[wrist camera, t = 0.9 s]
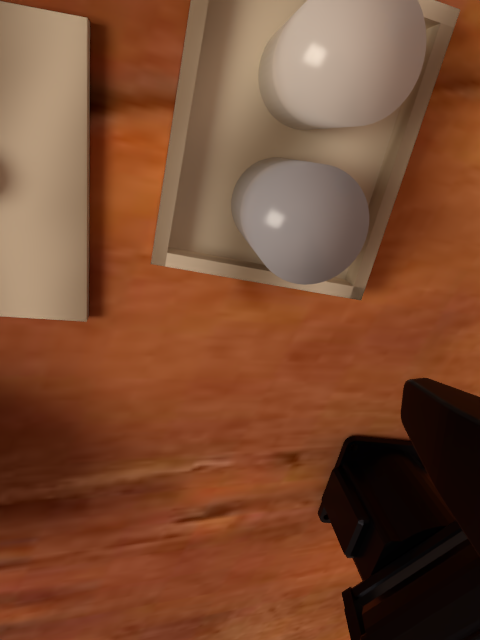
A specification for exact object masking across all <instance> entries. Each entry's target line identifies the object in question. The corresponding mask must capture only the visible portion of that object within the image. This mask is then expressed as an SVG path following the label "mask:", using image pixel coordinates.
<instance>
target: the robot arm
mask: <svg viewBox="0 0 480 640" xmlns="http://www.w3.org/2000/svg"><path fill="white" fill-rule="evenodd" d="M401 420H402V423H403V426H404V428H405V430H406V432H407V434H408V436H409V438H410V440H411V442H410V441H399V440H389V439H378V438H367V437H357V436H351V437H349V438H347V439H346V440H345V442H344V444H343V446H342V449H341V452H340V454H339V457H338V460H337V462H336V465H335V468H334V469H333V470H332V472H331V475H330V478H329V481H328V483H327V486H326V489H325V491H324V494H323V497H322V503H321V505H320V508H319V511H318V515H319V518H320V520H321V521H322V522H324V523H331V524H332V526H333V529H334V531H335V534H336V536H337V538H338V541H339V543H340V545H341V548H342V550H343V552H344V554H345V555H346V557H347V558H353V560H354V562H355V565H356V567H357V569H358V572H359V574H360V576H361V578H362V582H360V583H359V584H357V585H356V586H354V587H353V588H351V587H349V588H348V589H346V590H345V591H343V592H342V597H343V601H344V606H345V615H346V620H347V624H348V629H349V633H350V638H351V640H480V397H478V396H475V395H473V394H470V393H467V392H464V391H462V390H459V389H456V388H453V387H451V386H448V385H445V384H442V383H439V382H437V381H434V380H431V379H428V378H417V379H410V380H408V381H406V382H405V384H404V388H403V397H402V406H401ZM353 444H355V445H354V446H351V445H353Z"/></svg>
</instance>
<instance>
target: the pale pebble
mask: <svg viewBox="0 0 480 640" xmlns="http://www.w3.org/2000/svg"><path fill="white" fill-rule="evenodd" d="M425 52H426V26H425V20H424V16H423V12H422V9H421V6H420V4H419V2H418V0H307V1H306V2H305V3H304V4H303V5H302V6H301V7H300V8H299V9H298V10H297V11H296V12H295V13H294V14H293V15H292V16H291V17H290V18H289V19H288V20H287V21H286V22H285V23H284V24H283V25H282V26H281V27H280V28H279V29H278V30H277V31H276V32H275V34H274V35H273V36H272V37H271V38H270V40H269V41H268V43H267V45H266V47H265V48H264V51H263V53H262V56H261V60H260V64H259V72H258V81H259V89H260V93H261V96H262V99H263V101H264V104H265V106H266V107H267V109H268V111H269V112H270V113H271V114H272V116H273V117H274V118H275V119H276V120H278V121H279V122H280V123H282V124H283V125H285V126H287V127H290V128H293V129H297V130H313V129H328V128H342V127H356V126H365V125H369V124H373V123H375V122H377V121H380V120H382V119H384V118H385V117H387V116H389V115H390V114H391V113H392V112H394V111H395V110H396V109H397V108H398V107H399V106H400V105H401V104H402V103H403V102H404V101H405V100H406V98H407V97H408V96H409V94H410V93H411V91H412V90H413V88H414V86H415V84H416V82H417V80H418V78H419V75H420V72H421V70H422V66H423V62H424V58H425Z"/></svg>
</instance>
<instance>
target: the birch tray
mask: <svg viewBox="0 0 480 640" xmlns="http://www.w3.org/2000/svg"><path fill="white" fill-rule="evenodd" d="M306 1H307V0H191V3H190V10H189V16H188V23H187V30H186V36H185V43H184V49H183V56H182V63H181V69H180V76H179V82H178V89H177V95H176V102H175V109H174V115H173V122H172V128H171V135H170V142H169V148H168V155H167V161H166V168H165V174H164V181H163V188H162V194H161V201H160V207H159V214H158V221H157V227H156V234H155V240H154V247H153V253H152V260H151V264H155V265H160V266H166V267H172V268H178V269H183V270H189V271H195V272H201V273H207V274H212V275H218V276H224V277H230V278H235V279H241V280H247V281H253V282H259V283H264V284H270V285H276V286H282V287H287V288H293V289H299V290H305V291H310V292H316V293H322V294H328V295H334V296H339V297H345V298H351V299H357V300H361V299H362V296H363V293H364V290H365V287H366V284H367V281H368V279H369V276H370V273H371V270H372V267H373V264H374V261H375V258H376V255H377V252H378V249H379V246H380V243H381V240H382V238H383V235H384V232H385V229H386V226H387V223H388V220H389V217H390V214H391V211H392V208H393V205H394V202H395V199H396V197H397V194H398V191H399V188H400V185H401V182H402V179H403V176H404V173H405V170H406V167H407V164H408V161H409V158H410V156H411V153H412V150H413V147H414V144H415V141H416V138H417V135H418V132H419V129H420V126H421V123H422V120H423V117H424V115H425V112H426V109H427V106H428V103H429V100H430V97H431V94H432V91H433V88H434V85H435V82H436V79H437V76H438V74H439V71H440V68H441V65H442V62H443V59H444V56H445V53H446V50H447V47H448V44H449V41H450V38H451V35H452V33H453V30H454V27H455V24H456V21H457V18H458V15H459V12H460V9H457V8H454V7H452V6H449V5H446V4H443V3H441V2H438V1H435V0H418V2H419V4H420V6H421V9H422V12H423V16H424V20H425V26H426V52H425V58H424V62H423V66H422V70H421V72H420V75H419V78H418V80H417V82H416V84H415V86H414V88H413V90H412V91H411V93H410V94H409V96H408V97H407V98H406V100H405V101H404V102H403V103H402V104H401V105H400V106H399V107H398V108H397V109H396V110H395V111H394V112H392V113H391V114H390V115H389V116H387V117H385V118H384V119H382V120H380V121H377V122H375V123H373V124H369V125H365V126H356V127H342V128H328V129H313V130H297V129H293V128H290V127H287V126H285V125H283V124H282V123H280V122H279V121H278V120H276V119H275V118H274V117H273V116H272V114H271V113H270V112H269V111H268V109H267V107H266V106H265V104H264V101H263V99H262V96H261V93H260V89H259V81H258V72H259V64H260V60H261V56H262V53H263V51H264V48H265V47H266V45H267V43H268V41H269V40H270V38H271V37H272V36H273V35H274V34H275V32H276V31H277V30H278V29H279V28H280V27H281V26H282V25H283V24H284V23H285V22H286V21H287V20H288V19H289V18H290V17H291V16H292V15H293V14H294V13H295V12H296V11H297V10H298V9H299V8H300V7H301V6H302V5H303V4H304V3H305V2H306ZM272 157H282V158H288V159H295V160H301V161H307V162H314V163H320V164H326V165H331V166H334V167H337V168H339V169H341V170H343V171H345V172H346V173H347V174H349V175H350V176H351V177H352V178H353V179H354V180H355V181H356V182H357V183H358V184H359V186H360V187H361V189H362V191H363V193H364V195H365V197H366V200H367V204H368V208H369V228H368V233H367V237H366V240H365V243H364V245H363V247H362V249H361V251H360V253H359V254H358V256H357V257H356V259H355V260H354V261H353V262H352V263H351V265H350V266H349V267H347V268H346V269H345V270H344V271H343V272H341V273H340V274H339V275H337V276H335V277H333V278H332V279H329V280H327V281H324V282H321V283H317V284H307V285H303V284H295V283H291V282H288V281H285V280H283V279H281V278H279V277H278V276H276V275H275V274H274V273H272V272H271V271H270V270H269V269H268V268H267V267H266V266H265V264H264V263H263V262H262V260H261V259H260V258H259V257H258V255H257V254H256V253H255V251H254V250H253V249H252V247H251V246H250V245H249V243H248V242H247V241H246V240H245V238H244V237H243V236H242V234H241V233H240V232H239V230H238V229H237V227H236V225H235V223H234V220H233V217H232V212H231V199H232V194H233V190H234V187H235V185H236V183H237V181H238V179H239V178H240V176H241V175H242V174H243V173H244V172H245V171H246V169H248V168H249V167H250V166H251V165H253V164H254V163H256V162H258V161H260V160H263V159H266V158H272Z"/></svg>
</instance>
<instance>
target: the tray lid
mask: <svg viewBox="0 0 480 640" xmlns="http://www.w3.org/2000/svg"><path fill="white" fill-rule="evenodd" d="M89 149H90V21H89V20H88V18H86V17H80V16H75V15H70V14H65V13H60V12H54V11H49V10H44V9H39V8H33V7H28V6H23V5H18V4H13V3H7V2H2V1H0V316H5V317H21V318H37V319H53V320H70V321H86V322H87V320H88V317H89Z"/></svg>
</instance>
